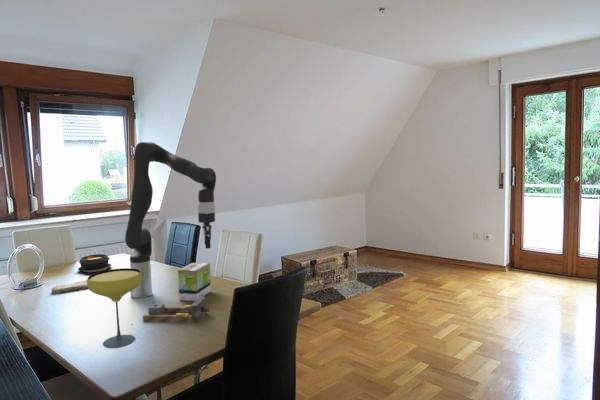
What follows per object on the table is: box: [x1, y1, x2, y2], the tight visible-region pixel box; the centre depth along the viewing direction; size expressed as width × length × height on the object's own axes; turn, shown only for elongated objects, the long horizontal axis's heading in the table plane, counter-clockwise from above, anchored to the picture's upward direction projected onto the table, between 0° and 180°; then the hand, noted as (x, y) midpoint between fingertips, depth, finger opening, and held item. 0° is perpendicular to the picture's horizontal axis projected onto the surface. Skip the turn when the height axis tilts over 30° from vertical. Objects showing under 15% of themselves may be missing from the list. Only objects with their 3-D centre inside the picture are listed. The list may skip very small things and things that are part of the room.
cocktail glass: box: [86, 267, 142, 349], centre depth 153 cm, size 18×18×25 cm
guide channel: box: [142, 296, 210, 324], centre depth 177 cm, size 26×11×7 cm, turn 84°
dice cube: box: [147, 303, 166, 315], centre depth 178 cm, size 5×5×5 cm
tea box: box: [177, 262, 212, 302], centre depth 204 cm, size 15×10×15 cm
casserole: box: [77, 253, 112, 273], centre depth 260 cm, size 25×19×8 cm
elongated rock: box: [51, 279, 89, 295], centre depth 225 cm, size 35×5×10 cm
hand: (207, 246), depth 195 cm, fingers open, 8 cm apart
